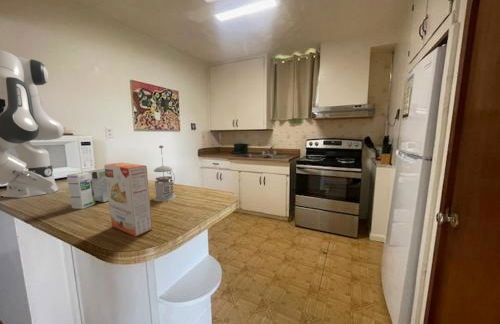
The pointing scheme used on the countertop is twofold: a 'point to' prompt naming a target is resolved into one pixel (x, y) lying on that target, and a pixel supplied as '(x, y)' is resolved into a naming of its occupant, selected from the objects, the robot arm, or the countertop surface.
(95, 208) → the countertop surface
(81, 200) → the syrup box
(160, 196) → the french press
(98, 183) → the gray block
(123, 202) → the cracker box
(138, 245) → the countertop surface
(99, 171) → the white topped bridge
